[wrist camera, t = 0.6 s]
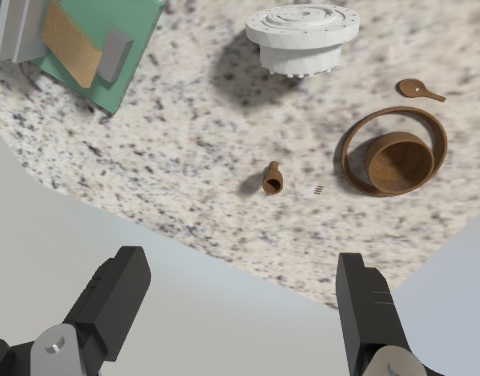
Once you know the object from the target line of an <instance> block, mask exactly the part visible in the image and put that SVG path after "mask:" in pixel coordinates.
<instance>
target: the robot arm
mask: <svg viewBox="0 0 480 376" xmlns="http://www.w3.org/2000/svg"><path fill="white" fill-rule="evenodd" d="M150 281H151V272H150V268H149V266H148V262H147V259H146V257H145V253H144V250H143V248H142V247H141V246H122V247H121V248H120V249H119V251H118V252H117V254H116V256H115V257H114V258H109V259H108V260H107V261H105V262H104V263H103V264H102V265H101V266H100V267H99V268H98V269H97V271H96V272H95V274H94V275H93V277H92V280H90V281H89V283H88V284H87V286H86V289H84V290H83V292H82V293H81V295H80V297H79V298H78V300H77V301H76V303H75V304H74V306H73V307H72V309H71V310H70V312H69V313H68V315H67V316H66V318H65V319H64V321H63V322H62V323H61V324H59V325H56V326H53V327H51V328H49V329H47V330H46V331H45V332H43V333H42V334H41V335H40V336H39V337H38V338H37V339H36V341H32V342H28V343H24V344H20V345H16V346H12V347H9V345H8V344H7V343H6V342H5V341H4V340H2V339H0V376H102V375H101V371H100V368H101V366H102V364H103V362H104V361H111V362H115V361H116V359H117V356H118V354H119V352H120V350H121V347H122V345H123V343H124V341H125V339H126V336H127V334H128V332H129V330H130V328H131V325H132V323H133V321H134V319H135V316H136V314H137V312H138V310H139V308H140V305H141V303H142V301H143V298H144V296H145V294H146V292H147V290H148V287H149V285H150ZM336 296H337V302H338V308H339V314H340V320H341V326H342V331H343V338H344V343H345V349H346V355H347V361H348V367H349V373H350V376H444V375H442V374H439V373H437V372H435V371H433V370H431V369H429V368H428V367H426V366H425V365H424V364H422V363H421V362H420V361H419V359H418V358H417V357H416V356H415V355H414V354H413V353H412V351H411V349H410V348H409V345H408V343H407V340H406V337H405V334H404V331H403V328H402V325H401V322H400V319H399V316H398V314H397V311H396V308H395V305H394V302H393V299H392V296H391V294H390V290H389V288H388V285H387V282H386V279H385V278H384V277H383V275H382V274H381V273H380V272H379V271H378V270H377V269H376V268H370V267H365V266H364V262H363V259H362V256H361V254H360V253H339V259H338V266H337V274H336Z"/></svg>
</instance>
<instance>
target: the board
mask: <svg viewBox="0 0 480 376" xmlns="http://www.w3.org/2000/svg"><path fill="white" fill-rule="evenodd" d="M53 1H57V2H59V4H60V5H61V6H62V7H63V8H64V9H65V10H66V11H67V12H68V14H69V15H70V16H71V17H72V18H73V19H74V20H75V21H76V23H77V24H78V25H79V26H80V27H81V28H82V29H83V30H84V31H85V33H86V34H87V35H88V36H89V37H90V38H91V39H92V40H93V42H94V43H95V44H96V45H97V46H98V47H99V48H100V49H101V50H102V52H103V53H102V56H101V59H100V61H99V64H98V67H97V70H96V72H95V75H94V78H93V80H92V83H91V86H90V88H83V87H81V86H80V84H79V83H78V82H77V81H76V80H75V78H74V77H73V76H72V75H71V74H70V72H69V71H68V70H67V69H66V68H65V66H64V65H63V64H62V63H61V62H60V60H59V59H58V58H57V57H56V56H55V54H54V53H53V52H52V51H51V50H50V48H49V47H48V46H47V45H46V44H45V42H44V41H43V40H42V39H41V38H40V36H41V32H42V28H43V24H44V20H45V16H46V12H47V8H48V4H49V0H0V61H2V60H7V59H9V60H10V61H12V62H14V63H15V64H17V63H21V62H24V61H29V62H31V63H33V64H34V65H36V66H37V67H39V68H41V69H42V70H44V71H45V72H47V73H48V74H50V75H52V76H53V77H55V78H56V79H58V80H60V81H61V82H63V83H64V84H66V85H68V86H69V87H71V88H72V89H74V90H76V91H77V92H79V93H80V94H82V95H84V96H85V97H87V98H88V99H90V100H91V101H93V102H95V103H96V104H98V105H99V106H101V107H103V108H104V109H106V110H107V111H109V112H111V113H112V114H113V113H114V112H116V111H117V110H118V109H119V107H120V104H121V102H122V100H123V98H124V96H125V93H126V91H127V89H128V87H129V84H130V82H131V80H132V78H133V75H134V73H135V71H136V69H137V66H138V64H139V62H140V60H141V58H142V55H143V53H144V51H145V49H146V46H147V44H148V42H149V40H150V37H151V35H152V33H153V31H154V28H155V26H156V24H157V22H158V20H159V17H160V15H161V13H162V11H163V8H164V6H165V5H164V4H163V3H161V2H160V1H159V0H53Z"/></svg>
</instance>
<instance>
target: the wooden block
mask: <svg viewBox="0 0 480 376" xmlns="http://www.w3.org/2000/svg"><path fill="white" fill-rule="evenodd" d="M40 38H41V39H42V40H43V41H44V42H45V44H46V45H47V46H48V47H49V48H50V50H51V51H52V52H53V53H54V54H55V56H56V57H57V58H58V59H59V60H60V62H61V63H62V64H63V65H64V66H65V68H66V69H67V70H68V71H69V72H70V74H71V75H72V76H73V77H74V78H75V80H76V81H77V82H78V83H79V84H80V86H81V87H83V88H90V86H91V83H92V80H93V78H94V75H95V72H96V70H97V67H98V64H99V61H100V59H101V56H102V53H103V52H102V50H101V49H100V48H99V47H98V46H97V45H96V44H95V43H94V42H93V40H92V39H91V38H90V37H89V36H88V35H87V34H86V33H85V31H84V30H83V29H82V28H81V27H80V26H79V25H78V24H77V23H76V21H75V20H74V19H73V18H72V17H71V16H70V15H69V14H68V12H67V11H66V10H65V9H64V8H63V7H62V6H61V5H60V4H59V2H57V1H53V0H49V4H48V8H47V12H46V16H45V20H44V24H43V28H42V32H41V36H40Z"/></svg>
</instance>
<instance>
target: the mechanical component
mask: <svg viewBox="0 0 480 376" xmlns="http://www.w3.org/2000/svg"><path fill="white" fill-rule="evenodd" d="M360 19H361V17H360V15H359V13H357V12H355V11H353V10H351V9H348V8H344V7H339V6H333V5H322V4H300V5H289V6H280V7H274V8H269V9H265V10H262V11H259V12H256V13H254V14H252V15H250V16H249V17H248V18H247V19H246V36H247V37H248V39H249V40H251V41H252V42H254V43H257V44H259V45H260V62H261V67H262V68H267V69H269V70H270V73H271V74H275V73H278V74H282V75H287V77H293V76H297V77H298V78H302V77H304V76H308V77H313V76H314V75H315V74H318V73H321V72H330V71H331V68H332V67H334V66H338V65H339V60H340V53H341V45H342V43H343V42H346V41H348V40H350V39H352V38H354V37H355V36H356V35H357V34H358V31H359V25H360Z"/></svg>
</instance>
